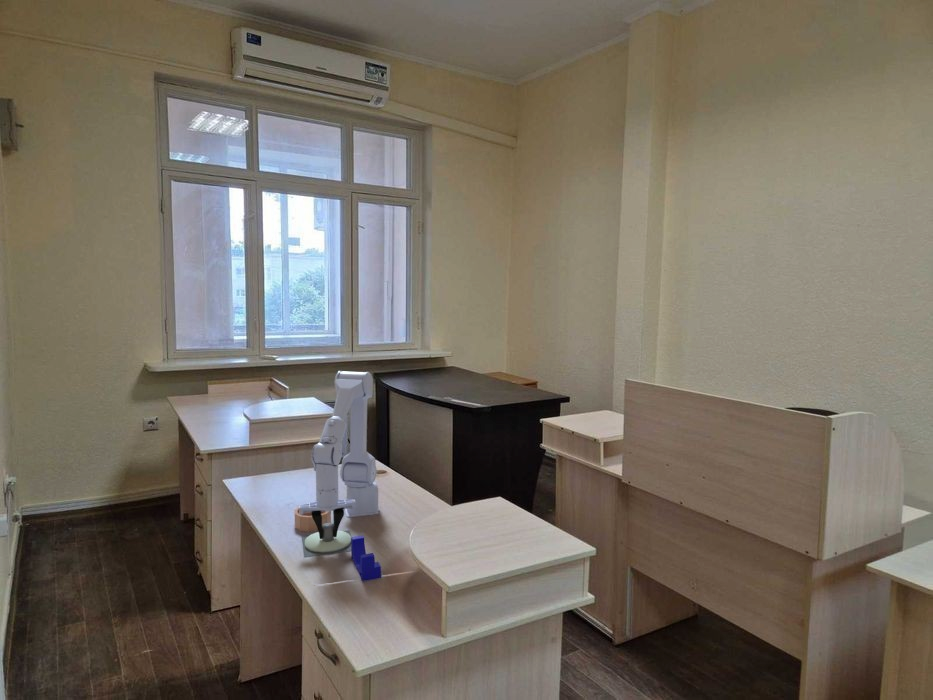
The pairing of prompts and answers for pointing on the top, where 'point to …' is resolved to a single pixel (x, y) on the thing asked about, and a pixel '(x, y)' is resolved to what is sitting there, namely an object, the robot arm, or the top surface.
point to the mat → (310, 553)
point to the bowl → (309, 520)
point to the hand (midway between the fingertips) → (327, 536)
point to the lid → (327, 540)
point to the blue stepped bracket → (364, 560)
